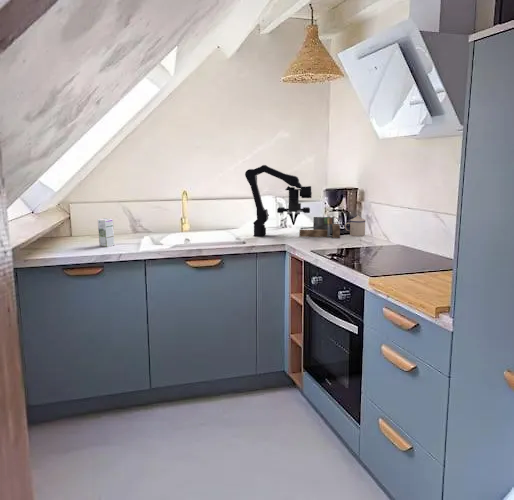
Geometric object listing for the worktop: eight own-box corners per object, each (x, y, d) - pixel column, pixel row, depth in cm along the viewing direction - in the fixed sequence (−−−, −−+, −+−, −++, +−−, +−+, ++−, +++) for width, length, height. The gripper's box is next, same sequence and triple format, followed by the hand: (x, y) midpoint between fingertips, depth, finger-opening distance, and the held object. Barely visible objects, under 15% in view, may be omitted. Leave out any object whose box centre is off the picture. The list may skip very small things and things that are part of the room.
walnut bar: (299, 237, 292) (299, 230, 291) (299, 236, 296) (299, 229, 295) (327, 237, 290) (327, 230, 290) (326, 236, 294) (326, 229, 294)
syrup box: (115, 245, 268) (113, 218, 265) (106, 247, 263) (104, 219, 260) (107, 244, 270) (105, 217, 268) (99, 246, 265) (97, 219, 263)
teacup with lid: (365, 234, 299) (365, 214, 297) (365, 236, 290) (365, 216, 288) (344, 233, 302) (345, 214, 299) (344, 236, 293) (344, 216, 291)
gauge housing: (313, 237, 287) (313, 220, 285) (313, 233, 304) (313, 217, 302) (339, 238, 285) (340, 220, 284) (338, 233, 302) (338, 217, 300)
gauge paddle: (327, 236, 287) (327, 221, 285) (327, 233, 301) (327, 218, 300) (329, 236, 287) (329, 221, 285) (329, 233, 301) (329, 218, 299)
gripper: (276, 199, 282) (276, 226, 285) (309, 199, 280) (309, 226, 283) (277, 197, 293) (278, 224, 296) (310, 197, 291) (309, 224, 294)
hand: (293, 224), depth 292 cm, fingers closed
